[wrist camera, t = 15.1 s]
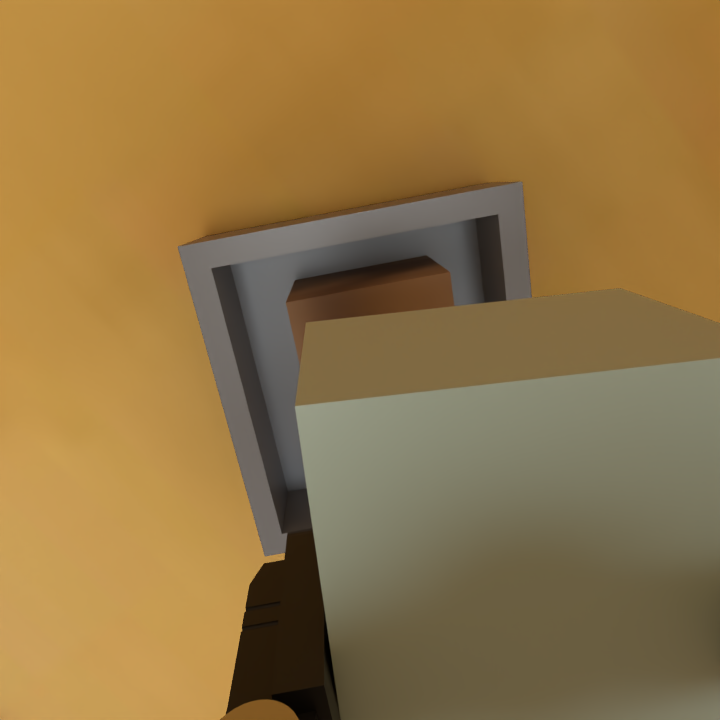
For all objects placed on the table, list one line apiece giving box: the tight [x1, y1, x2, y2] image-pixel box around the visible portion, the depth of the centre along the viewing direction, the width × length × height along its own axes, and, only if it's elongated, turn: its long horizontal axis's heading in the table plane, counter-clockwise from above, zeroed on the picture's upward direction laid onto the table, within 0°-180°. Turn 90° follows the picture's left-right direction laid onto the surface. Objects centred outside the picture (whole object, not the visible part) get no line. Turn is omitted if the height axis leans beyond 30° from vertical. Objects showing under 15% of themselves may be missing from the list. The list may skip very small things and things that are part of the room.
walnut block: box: [286, 255, 454, 364], centre depth 23 cm, size 6×9×5 cm, turn 10°
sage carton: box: [295, 288, 720, 720], centre depth 10 cm, size 6×9×4 cm, turn 6°
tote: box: [178, 182, 532, 556], centre depth 24 cm, size 13×14×4 cm
